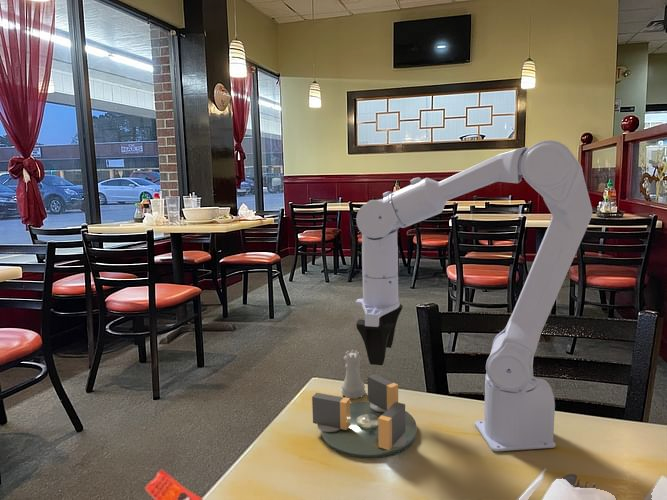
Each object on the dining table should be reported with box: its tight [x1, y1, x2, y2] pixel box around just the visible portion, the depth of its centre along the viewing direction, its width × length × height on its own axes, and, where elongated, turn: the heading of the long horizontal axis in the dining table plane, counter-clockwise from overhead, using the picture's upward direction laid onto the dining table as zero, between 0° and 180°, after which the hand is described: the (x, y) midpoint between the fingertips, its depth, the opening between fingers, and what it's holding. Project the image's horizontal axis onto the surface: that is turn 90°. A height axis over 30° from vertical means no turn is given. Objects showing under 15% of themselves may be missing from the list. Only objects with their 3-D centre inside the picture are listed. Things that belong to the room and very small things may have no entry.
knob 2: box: [378, 401, 407, 450], centre depth 73 cm, size 6×4×5 cm
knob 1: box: [311, 392, 351, 432], centre depth 77 cm, size 6×4×5 cm
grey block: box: [367, 373, 399, 412], centre depth 83 cm, size 6×4×5 cm
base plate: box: [320, 400, 417, 460], centre depth 78 cm, size 15×15×2 cm
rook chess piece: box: [340, 349, 366, 400], centre depth 91 cm, size 4×4×8 cm
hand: (381, 355), depth 82 cm, fingers open, 7 cm apart
